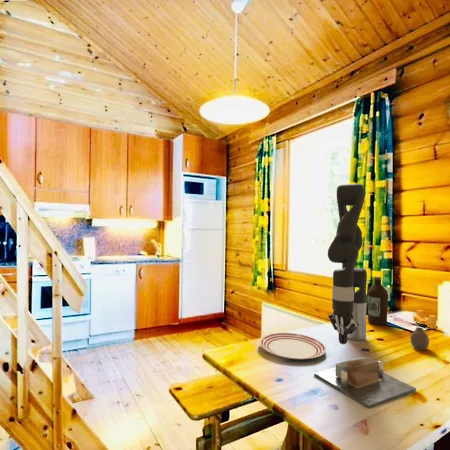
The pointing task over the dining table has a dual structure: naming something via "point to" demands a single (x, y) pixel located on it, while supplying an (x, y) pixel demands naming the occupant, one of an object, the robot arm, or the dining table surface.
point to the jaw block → (362, 371)
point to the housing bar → (342, 367)
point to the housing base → (367, 387)
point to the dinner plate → (293, 346)
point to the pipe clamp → (421, 319)
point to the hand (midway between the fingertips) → (342, 343)
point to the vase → (419, 339)
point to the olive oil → (377, 303)
